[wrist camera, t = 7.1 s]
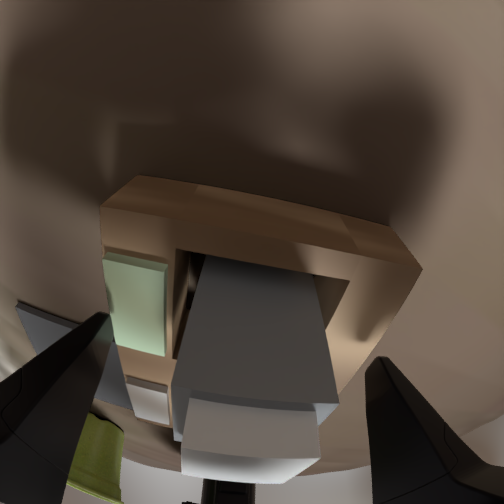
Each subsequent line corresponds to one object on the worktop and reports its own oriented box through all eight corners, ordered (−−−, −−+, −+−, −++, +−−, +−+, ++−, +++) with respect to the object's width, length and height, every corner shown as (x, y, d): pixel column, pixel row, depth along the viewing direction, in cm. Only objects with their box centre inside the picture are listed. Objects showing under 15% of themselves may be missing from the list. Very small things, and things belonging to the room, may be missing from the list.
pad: (146, 408, 19) (145, 413, 19) (53, 376, 18) (51, 380, 18) (134, 340, 15) (131, 347, 14) (18, 302, 14) (15, 306, 13)
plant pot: (97, 436, 26) (81, 492, 19) (45, 396, 22) (20, 458, 14) (155, 444, 25) (142, 511, 17) (99, 403, 20) (74, 484, 13)
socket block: (291, 405, 18) (294, 447, 15) (147, 382, 17) (135, 424, 14) (390, 226, 11) (427, 276, 8) (137, 174, 10) (92, 212, 7)
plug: (281, 312, 13) (291, 486, 6) (204, 299, 13) (168, 474, 6) (305, 246, 11) (346, 451, 4) (214, 228, 11) (158, 436, 4)
